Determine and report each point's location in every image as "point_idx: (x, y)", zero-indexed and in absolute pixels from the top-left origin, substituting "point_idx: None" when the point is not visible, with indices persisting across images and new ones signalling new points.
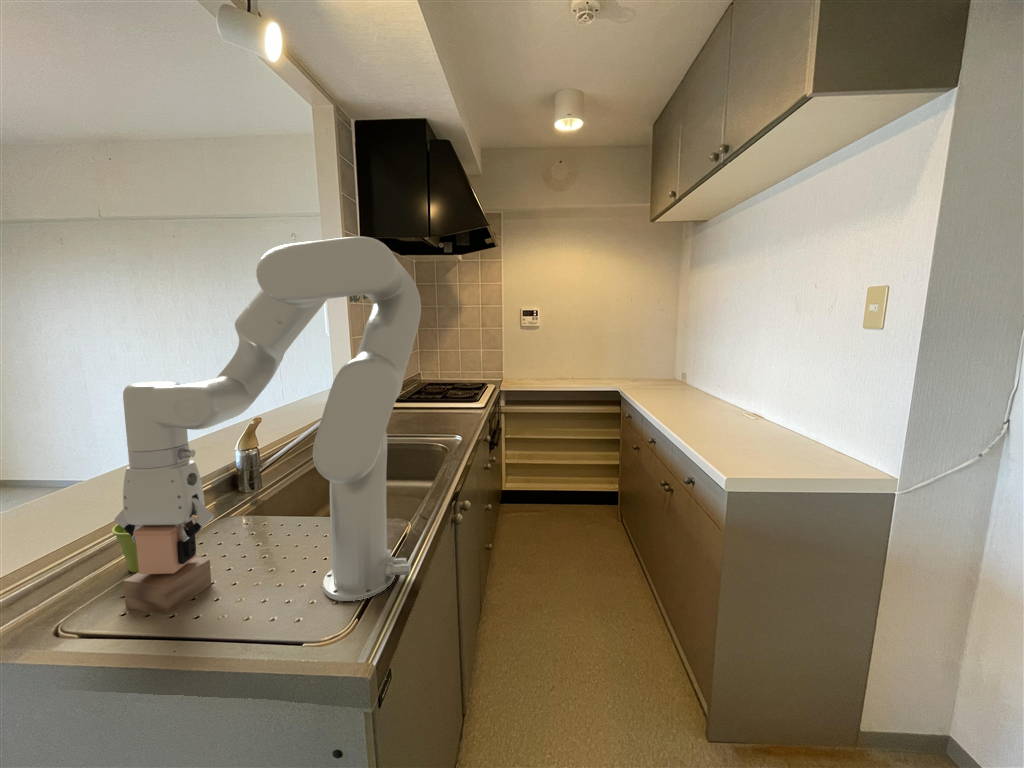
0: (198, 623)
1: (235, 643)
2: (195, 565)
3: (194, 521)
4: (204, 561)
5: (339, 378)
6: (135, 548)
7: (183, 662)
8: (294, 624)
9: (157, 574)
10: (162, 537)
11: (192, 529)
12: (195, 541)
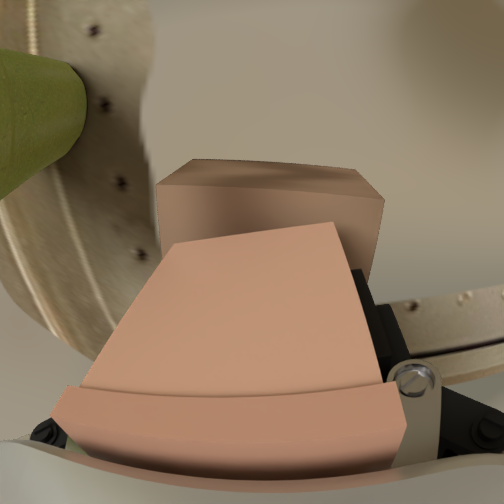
0: (426, 321)
1: (501, 345)
2: (356, 252)
3: (435, 446)
4: (372, 218)
5: None
6: (9, 192)
7: (444, 385)
8: None
9: None
10: None
11: (447, 457)
12: (346, 262)
